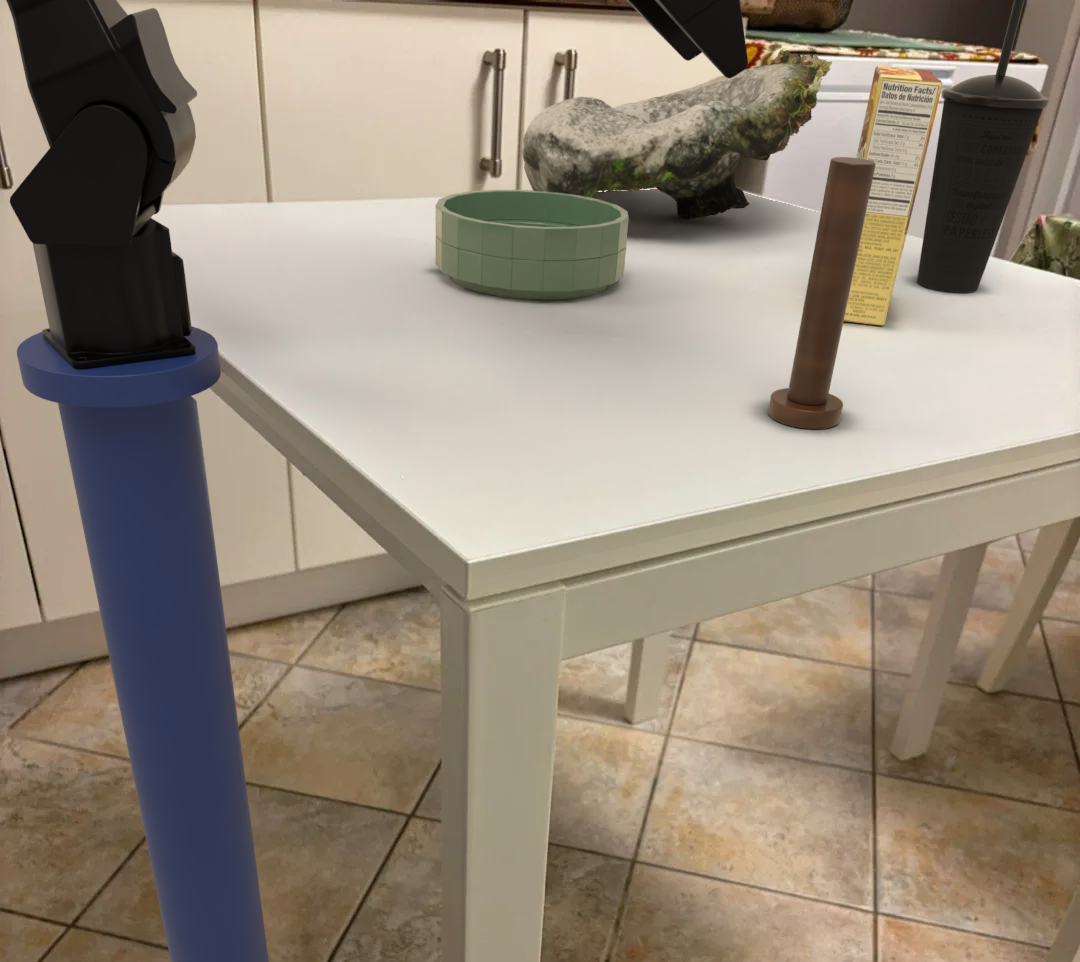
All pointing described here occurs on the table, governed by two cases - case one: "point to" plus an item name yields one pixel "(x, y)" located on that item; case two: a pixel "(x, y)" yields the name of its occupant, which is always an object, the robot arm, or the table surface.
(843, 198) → the brown wooden peg
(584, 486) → the table surface
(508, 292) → the mixing bowl
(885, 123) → the candy box
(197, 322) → the table surface
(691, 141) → the mossy rock
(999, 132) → the drinking cup
